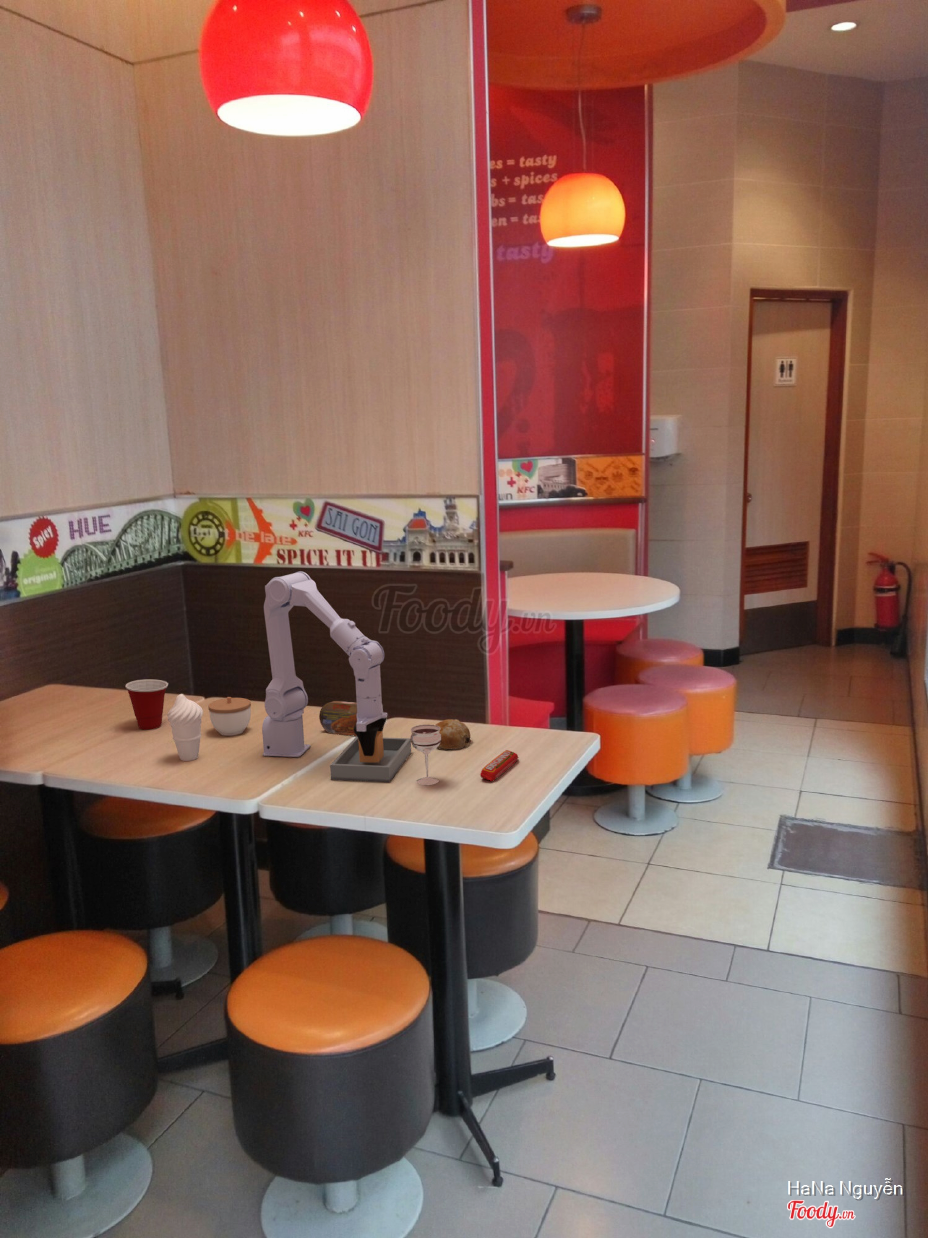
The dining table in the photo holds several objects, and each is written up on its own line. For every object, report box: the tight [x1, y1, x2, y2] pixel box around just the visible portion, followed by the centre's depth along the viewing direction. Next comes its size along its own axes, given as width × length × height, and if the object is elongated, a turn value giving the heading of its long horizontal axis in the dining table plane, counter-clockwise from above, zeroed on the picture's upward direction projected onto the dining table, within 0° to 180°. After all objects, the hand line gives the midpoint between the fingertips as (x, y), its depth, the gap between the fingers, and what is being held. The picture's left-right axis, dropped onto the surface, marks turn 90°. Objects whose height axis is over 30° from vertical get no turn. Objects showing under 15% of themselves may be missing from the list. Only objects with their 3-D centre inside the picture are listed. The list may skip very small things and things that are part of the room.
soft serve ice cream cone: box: [166, 693, 204, 762], centre depth 234 cm, size 8×8×16 cm
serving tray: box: [329, 736, 412, 783], centre depth 226 cm, size 14×20×4 cm
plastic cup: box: [125, 678, 169, 731], centre depth 260 cm, size 11×11×12 cm
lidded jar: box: [207, 696, 252, 737], centre depth 253 cm, size 11×11×9 cm
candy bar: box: [479, 749, 519, 782], centre depth 221 cm, size 16×4×3 cm, turn 154°
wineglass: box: [409, 724, 441, 786], centre depth 215 cm, size 7×7×12 cm
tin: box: [318, 700, 357, 737], centre depth 249 cm, size 15×3×8 cm, turn 67°
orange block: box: [358, 730, 384, 763], centre depth 226 cm, size 4×4×6 cm
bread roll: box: [435, 718, 471, 751], centre depth 239 cm, size 10×10×8 cm
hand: (371, 751), depth 226 cm, fingers closed on orange block, 4 cm apart
